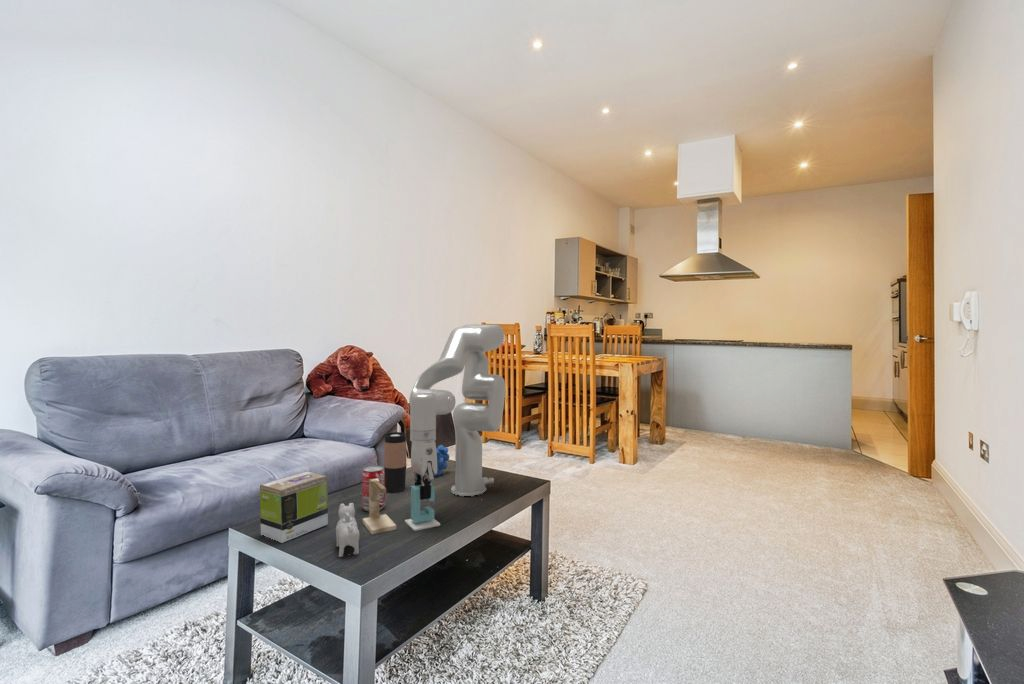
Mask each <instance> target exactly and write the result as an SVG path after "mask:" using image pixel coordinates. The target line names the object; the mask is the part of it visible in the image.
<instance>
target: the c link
mask: <svg viewBox="0 0 1024 684" xmlns="http://www.w3.org/2000/svg"><path fill="white" fill-rule="evenodd" d="M420 486H421V485H417V486H415V485H410V519H412V520H413V521H414V522H415V523H416V522H421V521H426V520H430V519H435V509H434V508H432V507H431V506H424V510H421V501H422V500H421V499H420ZM435 487H436V486H434V485H433V484H431V498H429V499H426V500H427V501H428V502H434V501H435V493H436V491H435V489H436V488H435Z"/></svg>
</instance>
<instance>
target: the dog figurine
mask: <svg viewBox="0 0 1024 684" xmlns="http://www.w3.org/2000/svg"><path fill="white" fill-rule="evenodd" d="M337 513H338V517H339V520H338V521H337V523H336V526H335V535H336V536H335V538H336V547H338V548H339V550H338V557H339V558H342V557H344V552H345V548H346V546H350V547H352V548H353V550H354V551H353V552H352V553H353V555H359V552H360V551H359V550H360V549H359V546H360V545H359V542H360V541H359V540H360V535H361V534H360V530H359V529H358V528H359V526H358V523H357V520H356V517H355V515H356V509H355V504H354V503H353V502H350V503H348V505H345V504H344V503H340V505H339V506H338V512H337Z"/></svg>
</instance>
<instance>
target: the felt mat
mask: <svg viewBox="0 0 1024 684" xmlns="http://www.w3.org/2000/svg"><path fill="white" fill-rule="evenodd" d="M404 523H405V524H406V525H407V526H409V528H410V529H412V531H414V532H417V531H421V530H425V529H431V528H434V527H440V526H441V523H440V522H439V521H438V520H436V519H435V518H434V519H430V520H426V521H421V522H416V523H415V522H414V521H413V520H412V519H411V518H408V519H404Z"/></svg>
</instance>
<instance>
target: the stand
mask: <svg viewBox="0 0 1024 684" xmlns="http://www.w3.org/2000/svg"><path fill="white" fill-rule="evenodd" d="M379 491H380V492H381V493H385V494H386V493H387V492H386V488H385V487H384V486H383V485H382V484H381V483H380V480H379V479H377V478H376V479H369V512H368V517H364V518H363V517H362V524H363V525H364V526H365V528H366V529H367V531H369V533H370V534H371V535H375V534H381V533H387V532H391V531H395V530H397V524H396V523H395V522H394V521H393V520H392V519H391V518H390V517H389V516H388V515H387V514H386V513H384V514H380V510H379Z"/></svg>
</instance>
